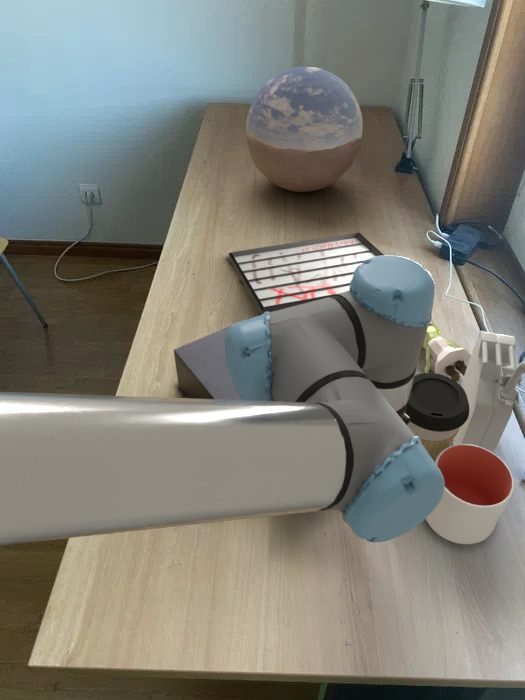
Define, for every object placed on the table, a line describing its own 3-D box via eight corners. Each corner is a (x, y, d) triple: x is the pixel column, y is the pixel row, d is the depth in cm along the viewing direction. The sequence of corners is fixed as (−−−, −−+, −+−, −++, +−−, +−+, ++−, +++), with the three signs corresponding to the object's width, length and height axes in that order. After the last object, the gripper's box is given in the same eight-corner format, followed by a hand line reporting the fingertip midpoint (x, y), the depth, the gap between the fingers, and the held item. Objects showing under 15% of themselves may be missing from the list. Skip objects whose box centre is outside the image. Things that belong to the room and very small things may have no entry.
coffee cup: (445, 440, 90) (469, 374, 80) (449, 493, 83) (476, 427, 72) (383, 432, 91) (398, 365, 81) (382, 482, 84) (399, 416, 74)
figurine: (485, 374, 98) (438, 326, 109) (481, 347, 93) (432, 299, 104) (441, 398, 98) (399, 346, 109) (435, 372, 93) (391, 321, 104)
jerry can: (487, 486, 83) (545, 365, 66) (452, 479, 84) (501, 358, 67) (484, 411, 94) (533, 290, 77) (453, 405, 95) (495, 285, 78)
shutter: (231, 280, 131) (271, 353, 106) (228, 252, 127) (268, 322, 102) (358, 253, 137) (424, 316, 112) (359, 226, 133) (427, 285, 108)
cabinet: (299, 414, 94) (302, 376, 88) (228, 451, 88) (226, 414, 82) (244, 356, 104) (244, 320, 98) (178, 386, 98) (173, 349, 92)
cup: (415, 483, 84) (429, 441, 77) (483, 487, 83) (503, 445, 77) (425, 546, 76) (442, 505, 70) (500, 550, 76) (524, 510, 69)
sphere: (312, 154, 170) (320, 45, 150) (378, 194, 152) (396, 75, 131) (226, 177, 158) (222, 62, 138) (286, 224, 140) (290, 98, 120)
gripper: (393, 349, 65) (367, 470, 81) (303, 394, 60) (294, 514, 76) (441, 388, 61) (404, 508, 76) (348, 441, 55) (328, 558, 71)
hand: (349, 511), depth 76 cm, fingers closed
